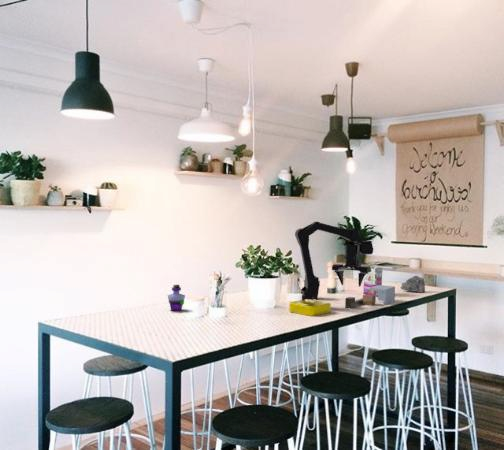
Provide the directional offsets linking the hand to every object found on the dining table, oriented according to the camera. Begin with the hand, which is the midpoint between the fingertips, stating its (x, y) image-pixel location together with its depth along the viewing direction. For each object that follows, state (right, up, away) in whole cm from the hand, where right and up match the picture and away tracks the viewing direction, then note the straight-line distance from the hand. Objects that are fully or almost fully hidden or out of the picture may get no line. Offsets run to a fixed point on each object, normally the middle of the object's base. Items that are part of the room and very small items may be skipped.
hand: (350, 285), depth 261 cm
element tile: (-22, -11, -13) cm, 28 cm away
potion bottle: (-85, -10, -14) cm, 87 cm away
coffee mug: (-17, -10, +27) cm, 33 cm away
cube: (+11, -11, +10) cm, 19 cm away
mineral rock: (+49, -11, +59) cm, 78 cm away
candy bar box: (+21, -11, +43) cm, 49 cm away
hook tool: (+6, -11, +6) cm, 14 cm away
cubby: (+20, -11, +19) cm, 30 cm away
